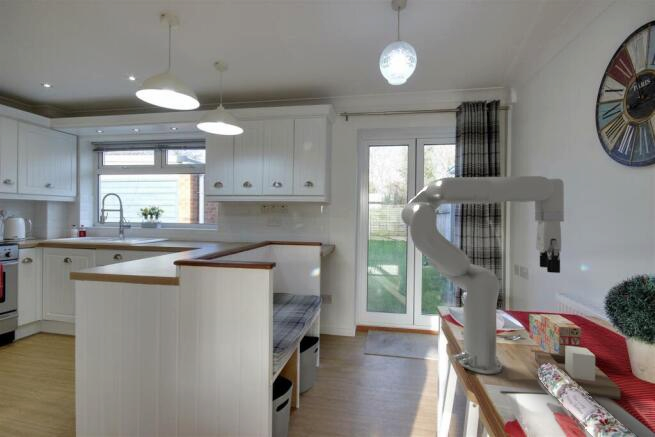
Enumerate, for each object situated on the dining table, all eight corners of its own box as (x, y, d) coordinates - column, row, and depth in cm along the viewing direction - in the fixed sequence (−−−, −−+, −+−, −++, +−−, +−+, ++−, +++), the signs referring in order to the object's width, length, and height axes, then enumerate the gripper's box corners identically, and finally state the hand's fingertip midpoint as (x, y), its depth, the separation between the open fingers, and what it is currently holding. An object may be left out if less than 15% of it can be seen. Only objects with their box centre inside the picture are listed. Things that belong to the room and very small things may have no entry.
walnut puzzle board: (620, 399, 78) (620, 388, 78) (556, 389, 83) (556, 378, 83) (586, 366, 95) (586, 357, 95) (535, 359, 100) (535, 350, 99)
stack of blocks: (528, 337, 118) (529, 306, 118) (546, 338, 117) (546, 307, 117) (559, 363, 98) (559, 325, 97) (581, 365, 96) (581, 327, 96)
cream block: (595, 381, 81) (595, 355, 81) (572, 378, 83) (572, 353, 83) (586, 372, 86) (586, 348, 86) (565, 369, 88) (565, 345, 88)
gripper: (529, 217, 106) (530, 264, 106) (541, 217, 90) (541, 273, 90) (555, 216, 103) (555, 266, 103) (572, 217, 87) (572, 275, 87)
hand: (549, 269), depth 97 cm, fingers open, 9 cm apart
